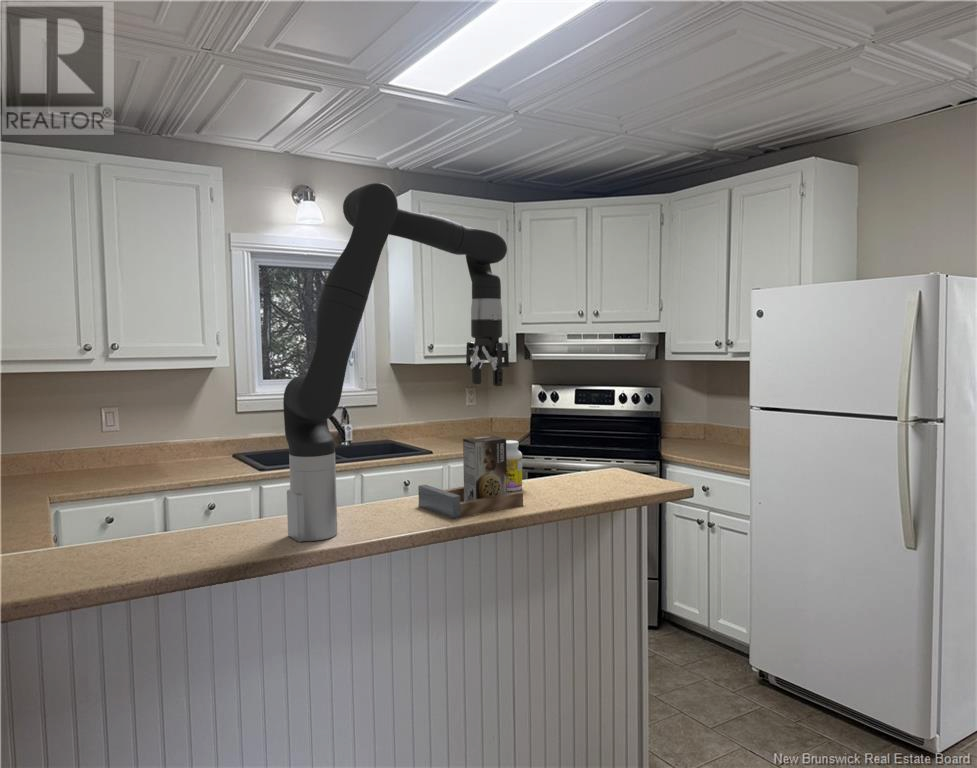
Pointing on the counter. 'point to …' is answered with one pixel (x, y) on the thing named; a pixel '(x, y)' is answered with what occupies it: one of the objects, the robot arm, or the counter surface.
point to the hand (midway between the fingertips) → (487, 385)
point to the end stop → (439, 501)
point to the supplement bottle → (513, 466)
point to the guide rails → (486, 502)
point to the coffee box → (484, 467)
